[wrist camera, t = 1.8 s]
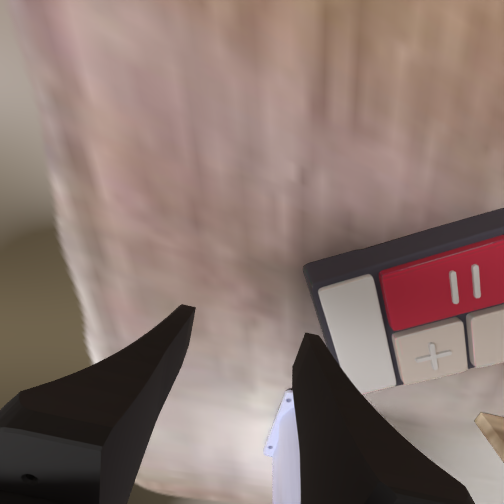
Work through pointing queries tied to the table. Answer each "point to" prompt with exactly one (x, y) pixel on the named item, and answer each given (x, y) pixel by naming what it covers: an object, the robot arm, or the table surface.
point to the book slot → (492, 431)
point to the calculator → (415, 304)
